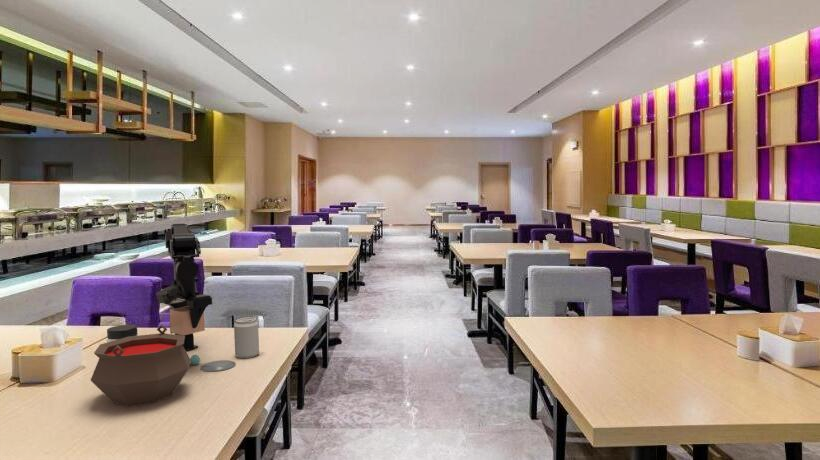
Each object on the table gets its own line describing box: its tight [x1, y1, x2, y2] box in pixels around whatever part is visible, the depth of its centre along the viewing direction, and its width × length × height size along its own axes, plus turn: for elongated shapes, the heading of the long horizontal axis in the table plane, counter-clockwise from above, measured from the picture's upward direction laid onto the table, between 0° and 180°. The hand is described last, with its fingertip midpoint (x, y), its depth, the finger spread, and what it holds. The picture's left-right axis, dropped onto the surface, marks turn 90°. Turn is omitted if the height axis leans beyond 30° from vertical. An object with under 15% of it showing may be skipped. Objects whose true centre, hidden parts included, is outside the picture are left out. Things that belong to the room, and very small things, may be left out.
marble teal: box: [189, 354, 201, 366], centre depth 164 cm, size 3×3×3 cm
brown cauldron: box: [90, 323, 191, 407], centre depth 138 cm, size 24×24×16 cm
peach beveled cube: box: [169, 306, 206, 335], centre depth 163 cm, size 7×7×7 cm
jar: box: [106, 324, 139, 343], centre depth 163 cm, size 9×8×12 cm
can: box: [233, 316, 260, 359], centre depth 172 cm, size 8×8×12 cm
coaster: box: [199, 359, 236, 373], centre depth 161 cm, size 10×10×1 cm
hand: (187, 326), depth 163 cm, fingers closed on peach beveled cube, 7 cm apart
